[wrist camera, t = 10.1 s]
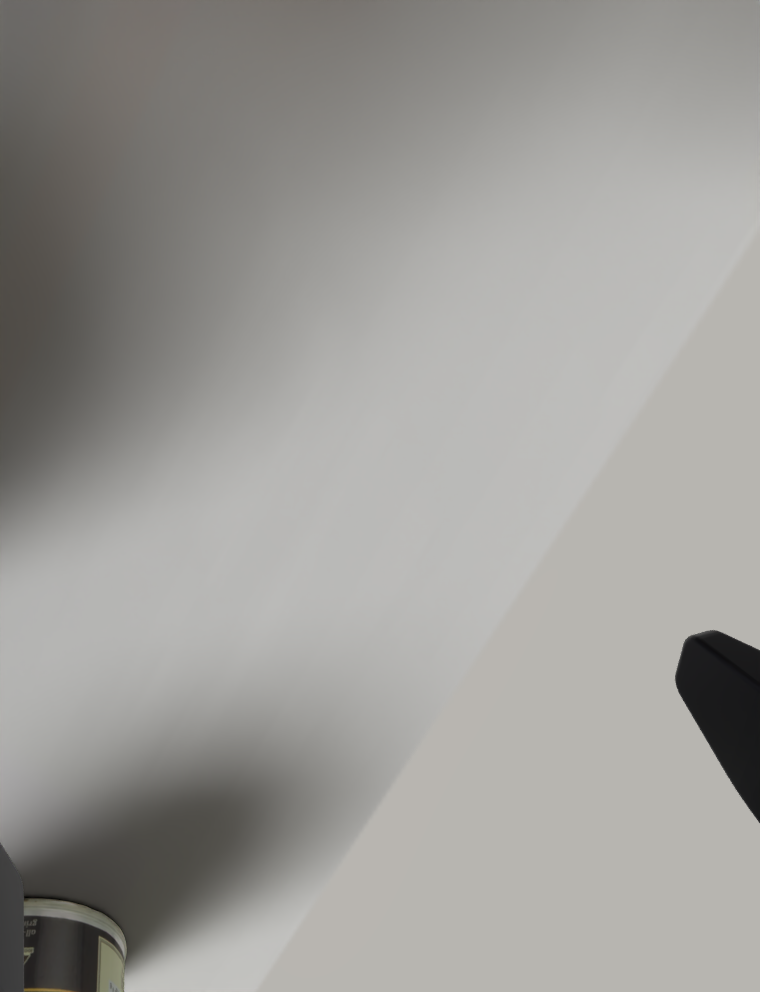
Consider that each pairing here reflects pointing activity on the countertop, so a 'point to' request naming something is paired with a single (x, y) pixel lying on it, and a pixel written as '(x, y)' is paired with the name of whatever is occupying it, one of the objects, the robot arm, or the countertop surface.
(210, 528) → the countertop surface
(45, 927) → the coffee can
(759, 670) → the robot arm
